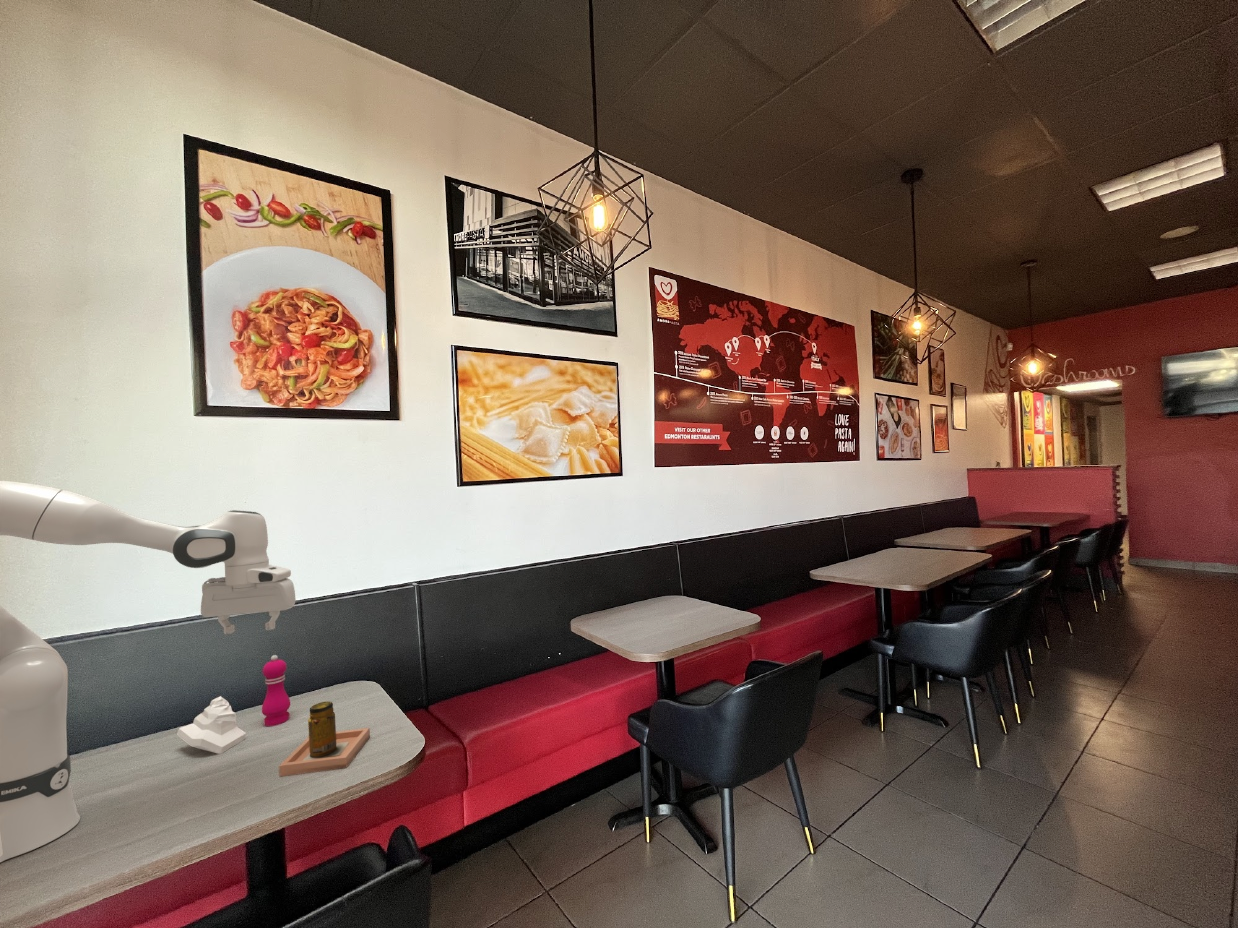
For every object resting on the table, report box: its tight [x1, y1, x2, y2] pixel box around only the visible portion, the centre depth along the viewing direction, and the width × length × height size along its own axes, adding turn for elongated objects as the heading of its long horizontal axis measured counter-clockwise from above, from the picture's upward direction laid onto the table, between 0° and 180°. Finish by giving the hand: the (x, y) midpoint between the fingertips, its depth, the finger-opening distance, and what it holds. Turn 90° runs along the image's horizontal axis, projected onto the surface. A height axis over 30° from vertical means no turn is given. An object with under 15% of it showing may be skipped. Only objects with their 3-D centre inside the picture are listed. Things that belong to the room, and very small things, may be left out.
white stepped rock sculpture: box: [177, 695, 247, 755], centre depth 141 cm, size 12×15×14 cm
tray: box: [278, 727, 371, 777], centre depth 131 cm, size 15×15×2 cm
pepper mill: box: [261, 654, 291, 727], centre depth 154 cm, size 7×7×20 cm
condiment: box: [303, 701, 349, 761], centre depth 131 cm, size 7×8×12 cm
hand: (250, 631), depth 124 cm, fingers open, 8 cm apart
